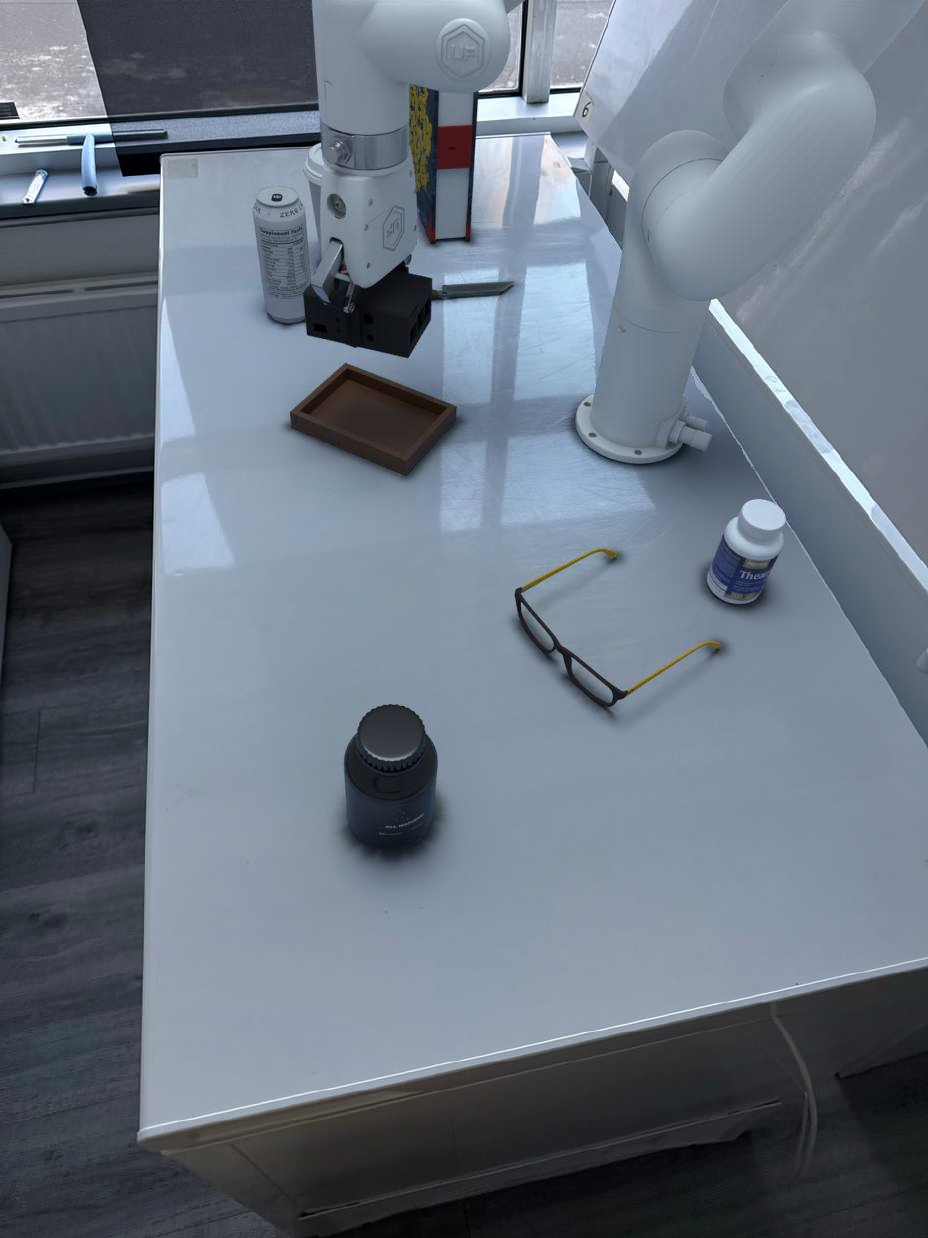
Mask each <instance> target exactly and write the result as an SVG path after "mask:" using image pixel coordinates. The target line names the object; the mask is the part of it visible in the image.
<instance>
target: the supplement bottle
mask: <svg viewBox="0 0 928 1238" xmlns="http://www.w3.org/2000/svg"><path fill="white" fill-rule="evenodd" d="M438 766H439V759H438V752H437V749H436V746H435V744H434V742H433V740H432V738H431V737H430V736H429V735H428V733H427V731H426V726H425V724H424V722H423V719H421V718H420V715H419V714H417V713H416V711H414V710H412V709H411V708H410V707H406V706H405V705H399V704H397V703H396V704H393V703H389V704H382V705H377V706H376V707H374V708H371V709H370V711H367V712H366V713H365V715H364V716H362V718H361V720H360V721H359V723H358V726H357V728H356V733H355V734H354V735H353V736H352V737H351V738H350V740H349V742H348V744H347V745H346V748H345V750H344V755H343V776H344V777H343V778H344V792H345V810H346V817H347V821H348V824H349V827H350V829H351V831H352V833H353V834H354V835H355V837H356V838H357V839H358V840H359V841H361V842H362V843H363V844H365V845H366V846H368V847H370V848H373V849H375V850H379V851H387V852H391V851H393V852H394V851H399V850H403V849H406V848H408V847H411V846H413V845H414V844H416V843H417V842H419V840H421V839H422V838H423V837H424V836H425V834H426V833H427V832H428V830H429V828H430V826H431V824H432V822H433V821H432V820H433V816H434V809H435V801H436V800H435V799H436V788H437V778H438V768H439V767H438Z"/></svg>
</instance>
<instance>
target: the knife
mask: <svg viewBox="0 0 928 1238" xmlns="http://www.w3.org/2000/svg"><path fill="white" fill-rule="evenodd" d="M514 283H515V280H506V281H489V282H487V281H486V282H472V283H469V282H468V283H454V284H442V286H441V290H438V289H433V288H432V299H439V298H440V299H441V298H444V299H445V298H446V299H447V298H453V297H463V296H479V295H496V294H501V293H502V292H504V291H505V290H507V289H508V288H510V287H511V286H512V285H514Z"/></svg>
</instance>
